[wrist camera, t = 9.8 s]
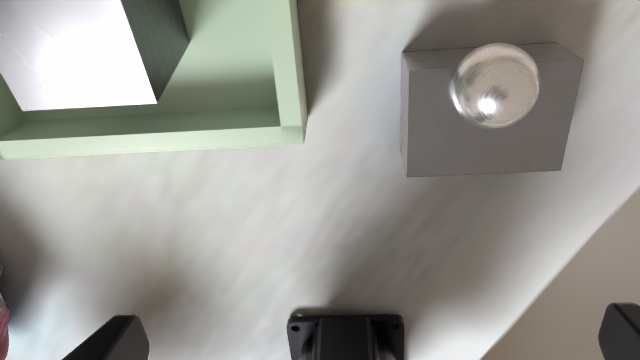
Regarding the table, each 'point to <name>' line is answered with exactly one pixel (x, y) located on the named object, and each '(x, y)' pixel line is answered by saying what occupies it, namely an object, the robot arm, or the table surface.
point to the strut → (89, 51)
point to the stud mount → (487, 108)
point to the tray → (189, 93)
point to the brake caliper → (3, 326)
